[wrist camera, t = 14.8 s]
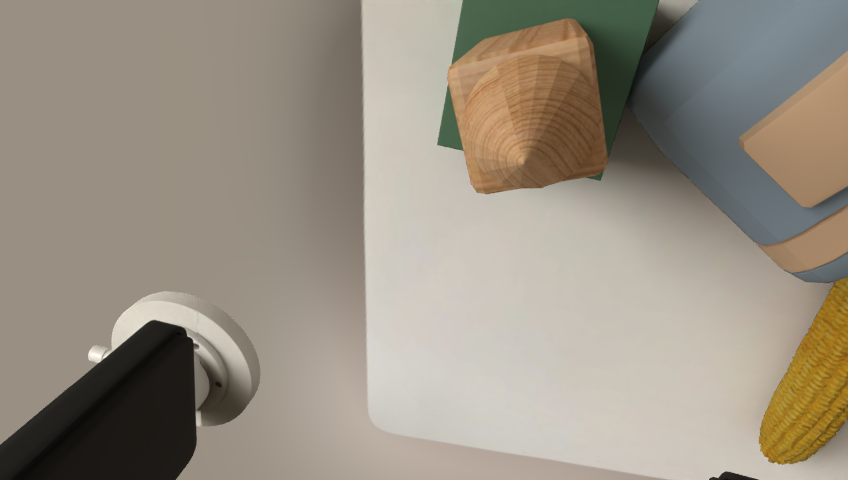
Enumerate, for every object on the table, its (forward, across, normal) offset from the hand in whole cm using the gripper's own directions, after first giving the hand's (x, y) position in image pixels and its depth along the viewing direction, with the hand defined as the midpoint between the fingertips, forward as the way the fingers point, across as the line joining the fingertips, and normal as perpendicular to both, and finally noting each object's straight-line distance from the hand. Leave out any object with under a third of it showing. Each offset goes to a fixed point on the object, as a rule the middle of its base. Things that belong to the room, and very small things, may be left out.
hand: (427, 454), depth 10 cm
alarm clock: (+38, -18, -5) cm, 42 cm away
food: (+38, -30, +16) cm, 51 cm away
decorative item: (+32, -1, -2) cm, 32 cm away
